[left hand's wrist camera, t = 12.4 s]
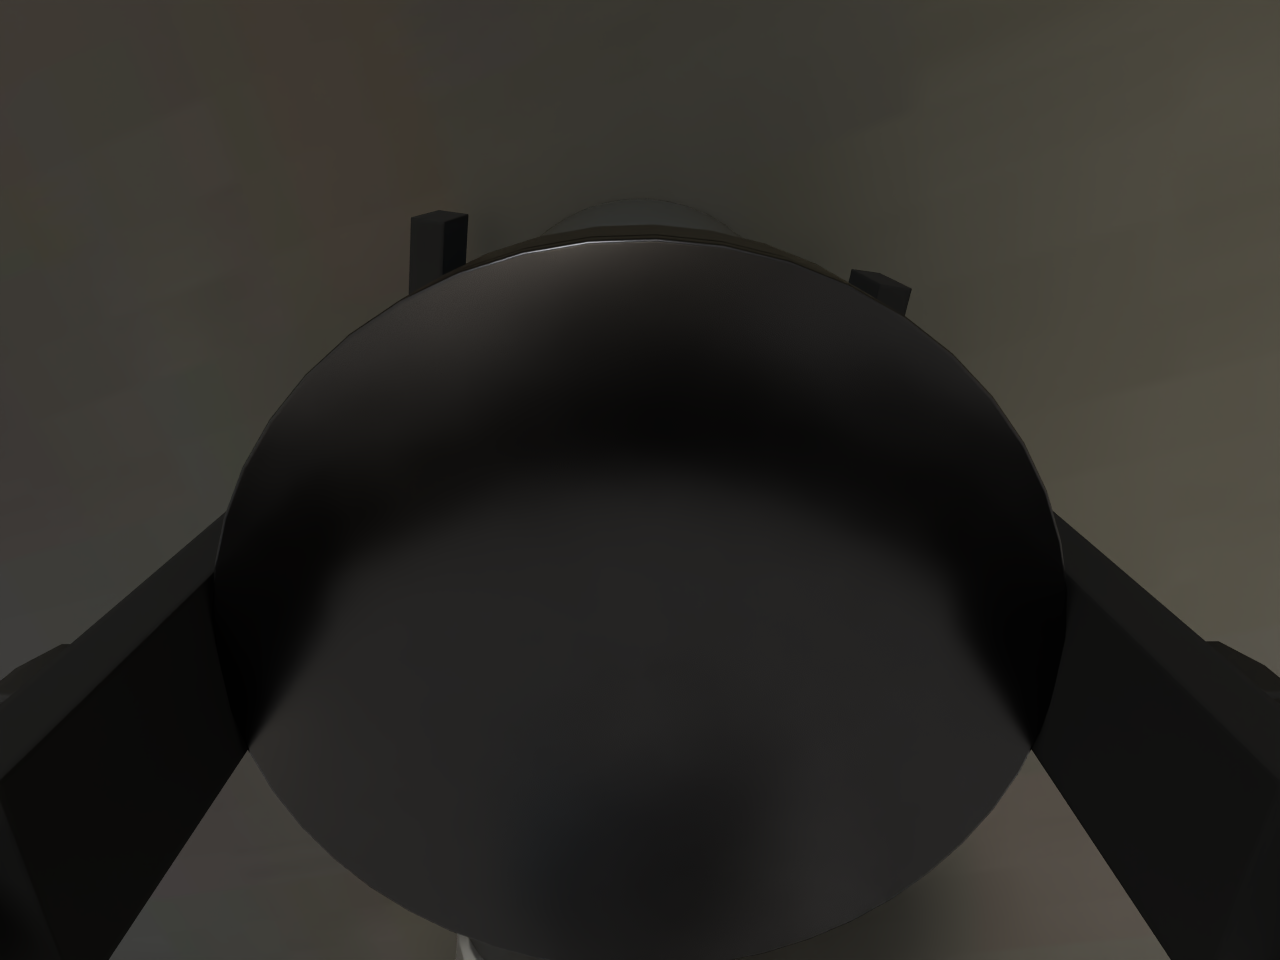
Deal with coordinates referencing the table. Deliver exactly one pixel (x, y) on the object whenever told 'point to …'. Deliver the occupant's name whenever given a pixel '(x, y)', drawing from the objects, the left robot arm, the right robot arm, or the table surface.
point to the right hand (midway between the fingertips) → (663, 247)
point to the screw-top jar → (640, 216)
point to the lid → (639, 599)
